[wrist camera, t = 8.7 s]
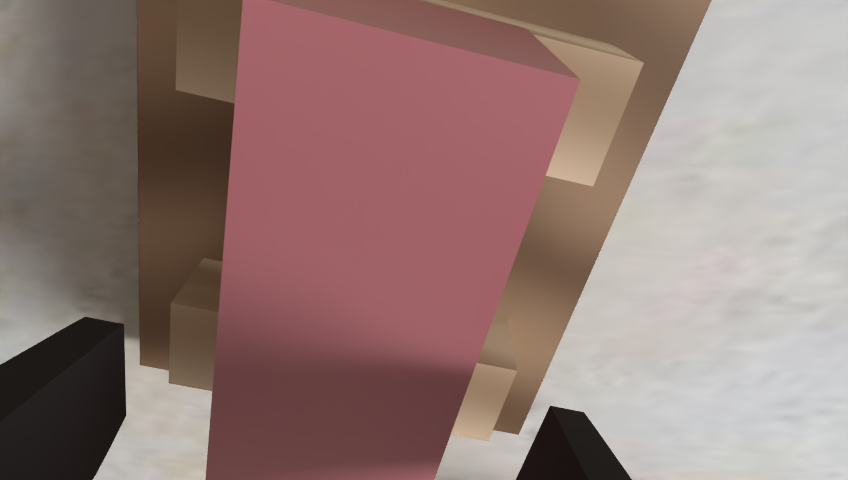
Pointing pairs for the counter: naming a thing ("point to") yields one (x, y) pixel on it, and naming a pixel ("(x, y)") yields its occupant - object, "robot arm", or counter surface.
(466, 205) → the pink rectangular block
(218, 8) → the stand
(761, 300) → the counter surface
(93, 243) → the counter surface
